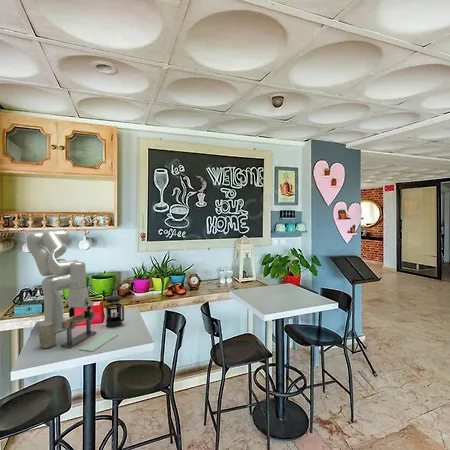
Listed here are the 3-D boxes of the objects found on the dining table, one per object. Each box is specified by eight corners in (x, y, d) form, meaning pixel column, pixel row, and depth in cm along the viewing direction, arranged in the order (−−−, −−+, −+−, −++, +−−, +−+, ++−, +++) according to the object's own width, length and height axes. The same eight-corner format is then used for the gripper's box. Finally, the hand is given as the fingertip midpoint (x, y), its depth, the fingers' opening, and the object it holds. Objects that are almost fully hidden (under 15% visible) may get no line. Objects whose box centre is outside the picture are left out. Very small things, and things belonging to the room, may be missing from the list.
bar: (61, 328, 148) (61, 322, 148) (89, 315, 167) (89, 309, 167) (66, 328, 147) (66, 322, 147) (94, 315, 166) (94, 310, 166)
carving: (42, 344, 152) (41, 321, 152) (58, 343, 154) (57, 320, 153) (37, 350, 146) (36, 326, 145) (54, 348, 148) (53, 324, 147)
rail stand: (60, 347, 149) (60, 322, 149) (87, 332, 167) (86, 310, 167) (70, 348, 147) (69, 323, 147) (96, 333, 166) (95, 311, 165)
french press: (101, 327, 175) (100, 288, 175) (110, 321, 185) (110, 285, 184) (119, 328, 173) (118, 289, 172) (127, 322, 182) (127, 286, 181)
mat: (79, 350, 146) (79, 348, 145) (105, 334, 165) (105, 333, 165) (92, 351, 143) (92, 350, 143) (117, 335, 163) (117, 334, 163)
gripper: (59, 286, 155) (60, 318, 155) (87, 287, 150) (88, 320, 151) (70, 283, 162) (71, 314, 163) (96, 284, 158) (98, 315, 158)
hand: (79, 317), depth 157 cm, fingers open, 9 cm apart
